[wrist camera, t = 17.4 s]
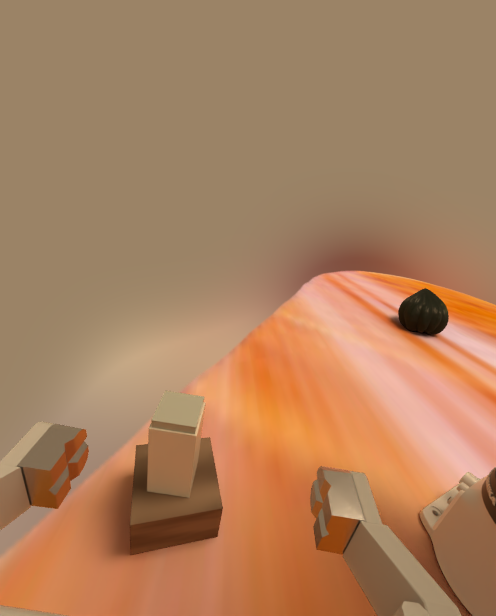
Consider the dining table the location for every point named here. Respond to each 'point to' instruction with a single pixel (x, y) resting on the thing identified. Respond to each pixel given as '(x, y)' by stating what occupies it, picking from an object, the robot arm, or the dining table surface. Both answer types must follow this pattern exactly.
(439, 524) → the robot arm
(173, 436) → the tall cream box
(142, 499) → the walnut block
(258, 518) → the dining table surface
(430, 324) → the squash
